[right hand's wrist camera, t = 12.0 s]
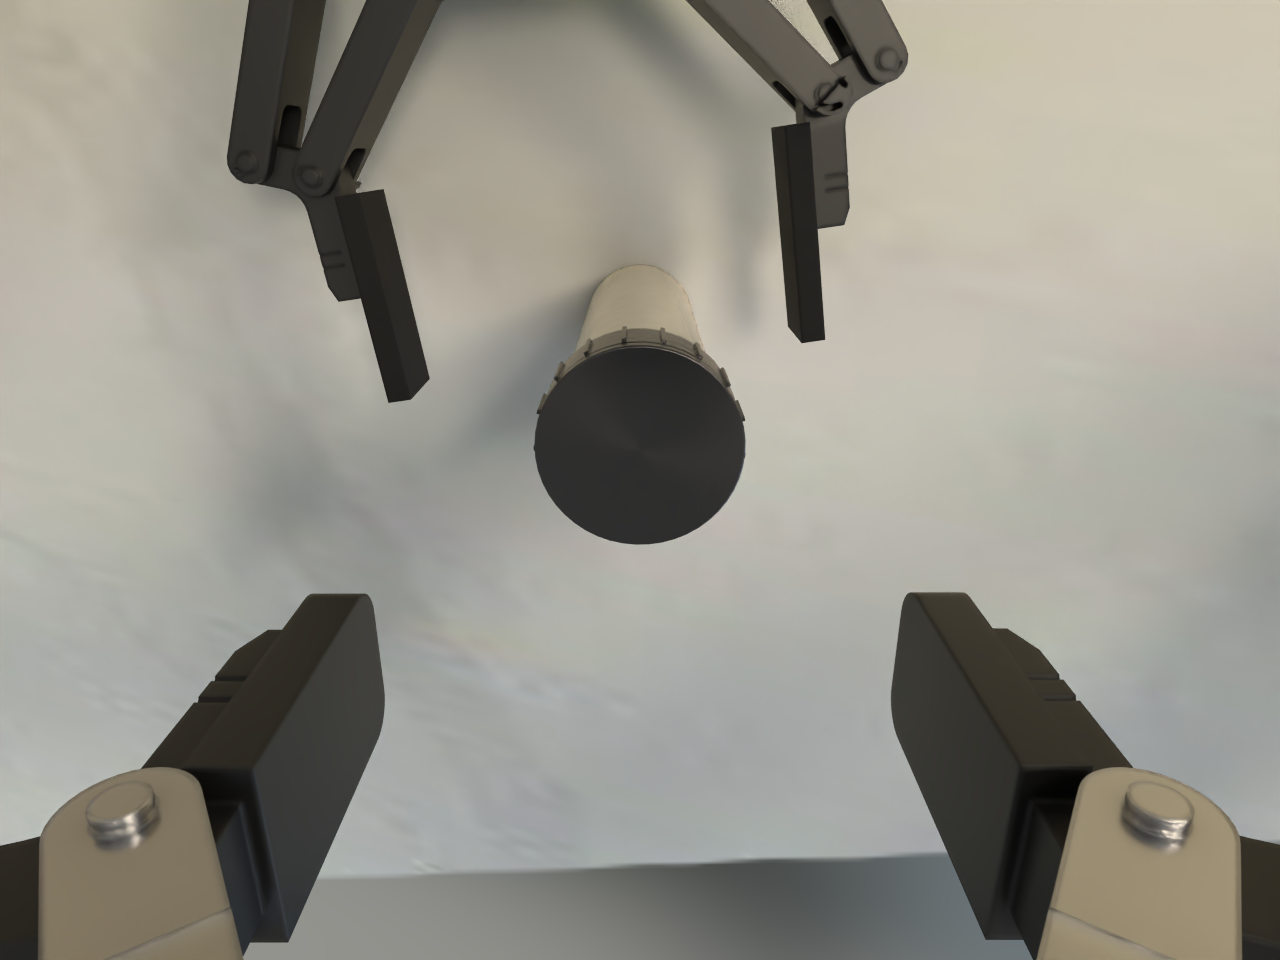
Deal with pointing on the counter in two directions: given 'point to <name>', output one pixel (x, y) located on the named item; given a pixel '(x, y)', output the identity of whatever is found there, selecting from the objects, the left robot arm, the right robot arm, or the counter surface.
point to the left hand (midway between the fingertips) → (605, 363)
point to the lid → (639, 437)
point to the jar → (639, 305)
